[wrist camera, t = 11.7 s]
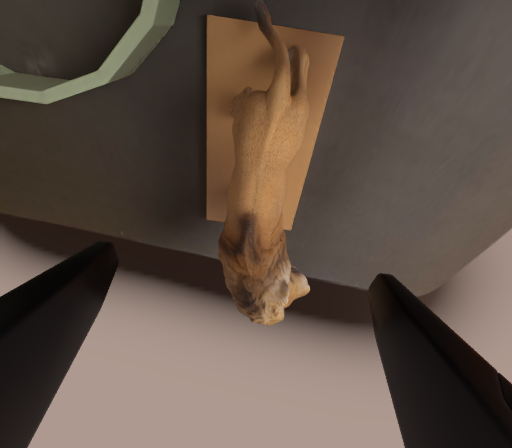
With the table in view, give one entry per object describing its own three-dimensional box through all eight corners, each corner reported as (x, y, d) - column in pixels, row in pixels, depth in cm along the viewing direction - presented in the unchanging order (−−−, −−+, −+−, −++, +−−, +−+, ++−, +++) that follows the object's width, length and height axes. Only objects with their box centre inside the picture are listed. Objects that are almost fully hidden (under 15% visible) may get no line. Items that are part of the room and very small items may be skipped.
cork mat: (343, 36, 13) (344, 36, 13) (290, 227, 21) (290, 230, 21) (208, 14, 13) (206, 14, 12) (207, 217, 21) (206, 220, 20)
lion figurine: (298, 233, 21) (314, 339, 14) (235, 234, 21) (219, 338, 14) (312, -4, 12) (376, -43, 5) (201, 6, 12) (109, -18, 5)
